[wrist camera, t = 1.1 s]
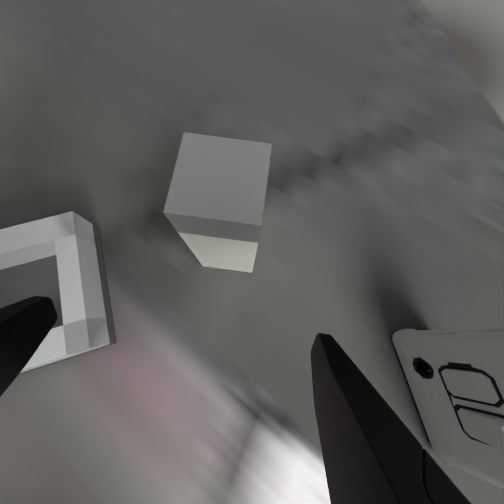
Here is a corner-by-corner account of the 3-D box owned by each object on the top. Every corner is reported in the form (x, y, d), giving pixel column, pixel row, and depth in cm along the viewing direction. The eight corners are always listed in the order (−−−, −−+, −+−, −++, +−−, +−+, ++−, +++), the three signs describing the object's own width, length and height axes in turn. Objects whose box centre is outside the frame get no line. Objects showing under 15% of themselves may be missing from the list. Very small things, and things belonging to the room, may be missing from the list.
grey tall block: (252, 272, 21) (261, 225, 11) (202, 266, 21) (162, 212, 11) (258, 226, 22) (271, 144, 12) (211, 220, 22) (183, 132, 12)
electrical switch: (386, 331, 20) (514, 335, 11) (435, 317, 21) (587, 311, 12) (432, 457, 18) (640, 586, 9) (485, 435, 19) (719, 531, 10)
